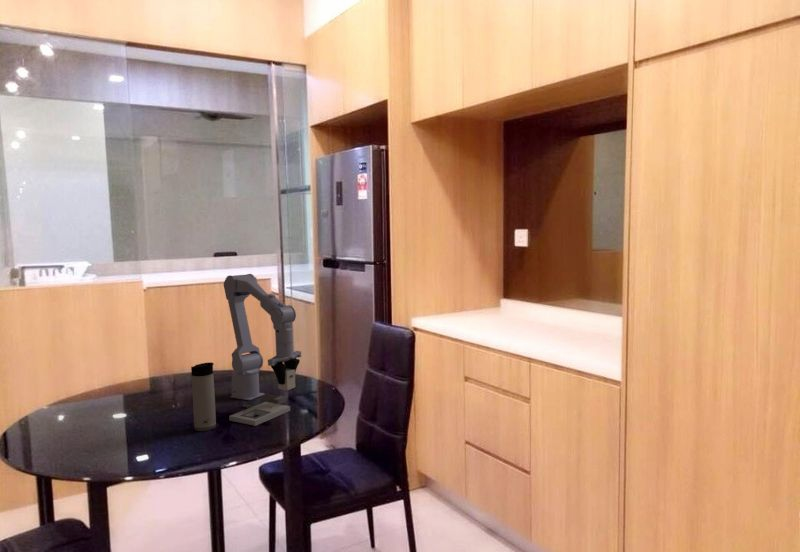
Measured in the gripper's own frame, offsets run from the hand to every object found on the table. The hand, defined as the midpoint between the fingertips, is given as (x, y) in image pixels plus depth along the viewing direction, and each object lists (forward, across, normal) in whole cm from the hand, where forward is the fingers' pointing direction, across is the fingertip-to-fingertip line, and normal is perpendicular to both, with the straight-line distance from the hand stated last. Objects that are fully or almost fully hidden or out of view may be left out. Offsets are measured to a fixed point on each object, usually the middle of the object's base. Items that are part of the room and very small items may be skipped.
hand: (286, 382), depth 187 cm
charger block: (+2, 0, 0) cm, 2 cm away
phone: (+8, 0, +11) cm, 14 cm away
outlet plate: (+8, -11, +2) cm, 14 cm away
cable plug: (+9, 0, +6) cm, 11 cm away
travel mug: (+9, -26, +9) cm, 29 cm away
